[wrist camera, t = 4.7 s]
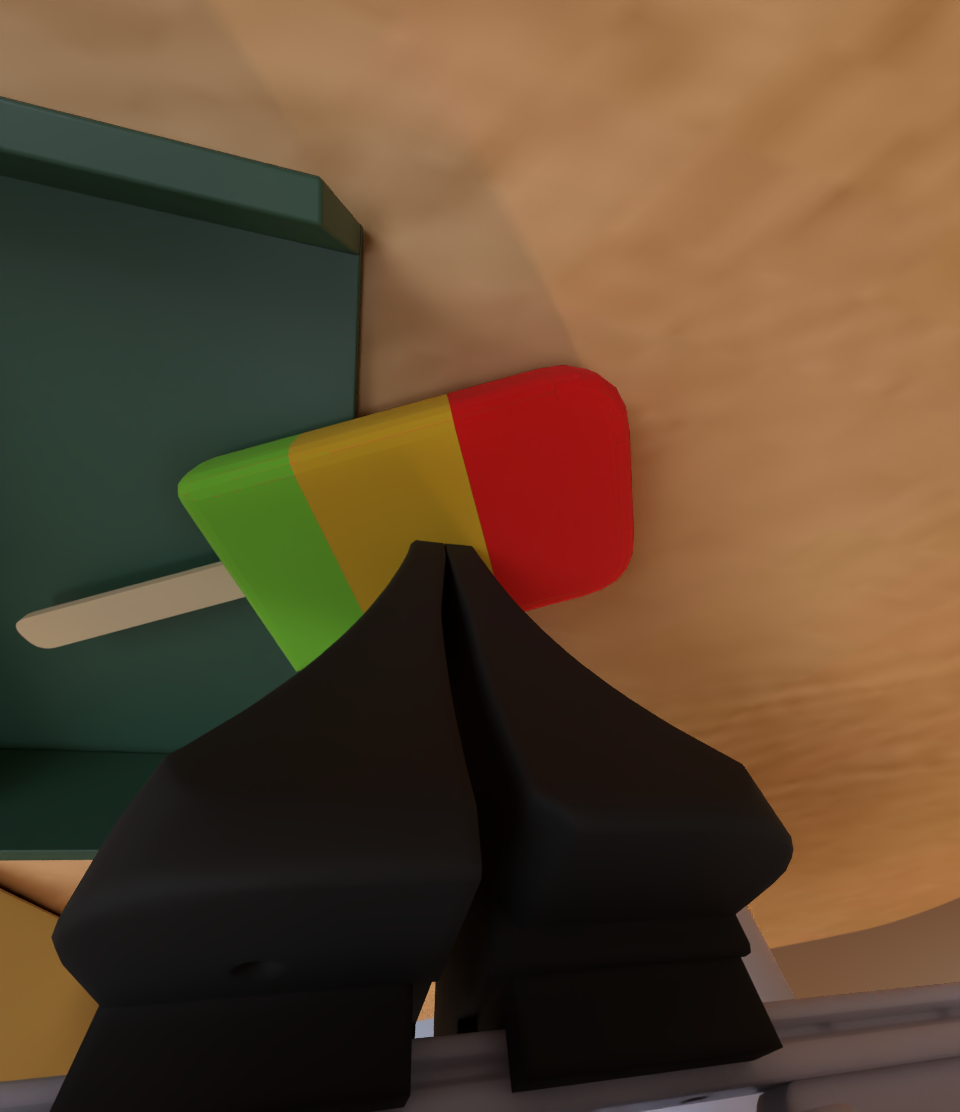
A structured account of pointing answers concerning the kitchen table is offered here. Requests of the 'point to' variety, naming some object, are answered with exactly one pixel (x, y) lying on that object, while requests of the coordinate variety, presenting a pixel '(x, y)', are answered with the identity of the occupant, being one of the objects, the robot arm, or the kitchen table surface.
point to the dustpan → (142, 436)
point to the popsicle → (397, 511)
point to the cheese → (37, 996)
